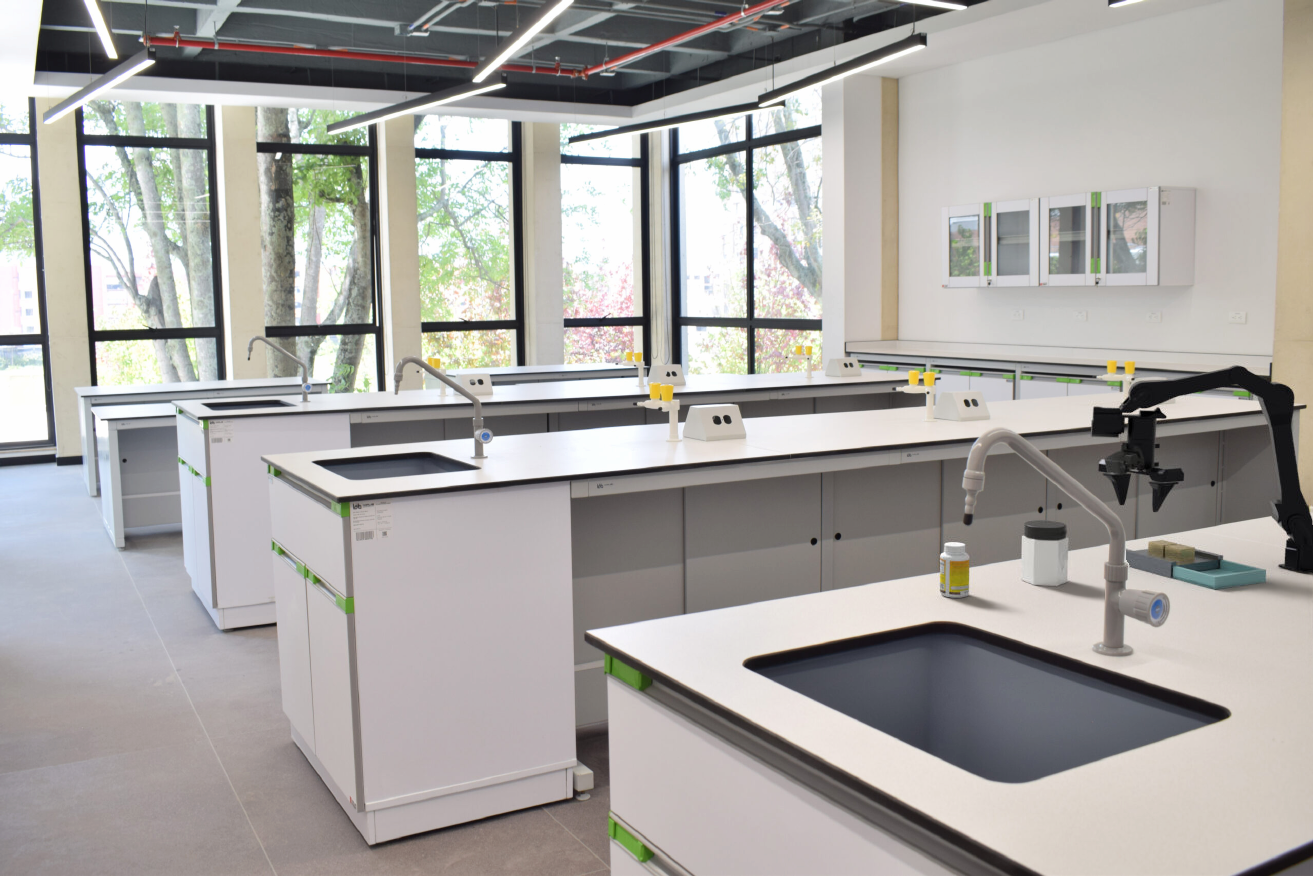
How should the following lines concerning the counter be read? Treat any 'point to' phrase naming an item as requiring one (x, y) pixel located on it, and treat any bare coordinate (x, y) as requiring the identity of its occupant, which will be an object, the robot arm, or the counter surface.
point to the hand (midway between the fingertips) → (1138, 508)
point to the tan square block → (1158, 547)
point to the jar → (1044, 553)
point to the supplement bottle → (954, 571)
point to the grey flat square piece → (1172, 562)
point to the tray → (1222, 575)
